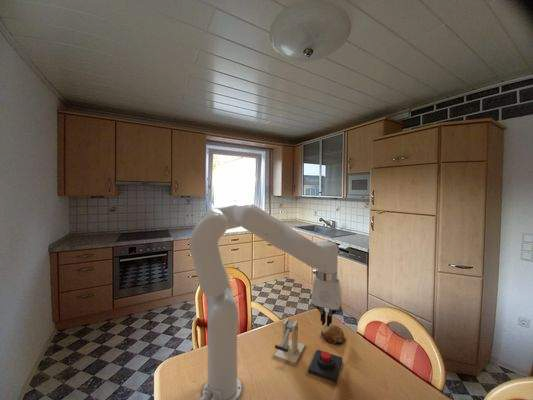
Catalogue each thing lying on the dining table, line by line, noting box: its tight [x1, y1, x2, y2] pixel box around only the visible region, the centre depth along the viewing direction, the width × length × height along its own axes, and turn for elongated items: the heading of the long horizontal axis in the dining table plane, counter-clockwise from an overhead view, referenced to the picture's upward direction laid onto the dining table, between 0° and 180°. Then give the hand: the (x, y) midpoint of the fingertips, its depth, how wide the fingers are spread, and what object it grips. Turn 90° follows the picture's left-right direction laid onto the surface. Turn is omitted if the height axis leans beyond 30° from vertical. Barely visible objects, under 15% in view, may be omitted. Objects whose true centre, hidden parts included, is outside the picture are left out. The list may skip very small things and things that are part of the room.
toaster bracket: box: [273, 317, 306, 364], centre depth 94 cm, size 12×9×13 cm
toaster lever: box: [274, 320, 295, 352], centre depth 90 cm, size 12×5×2 cm, turn 153°
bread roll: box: [320, 323, 345, 346], centre depth 103 cm, size 10×10×8 cm
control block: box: [307, 349, 343, 386], centre depth 86 cm, size 12×10×4 cm
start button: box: [321, 351, 331, 363], centre depth 86 cm, size 4×4×2 cm
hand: (326, 323), depth 85 cm, fingers closed
